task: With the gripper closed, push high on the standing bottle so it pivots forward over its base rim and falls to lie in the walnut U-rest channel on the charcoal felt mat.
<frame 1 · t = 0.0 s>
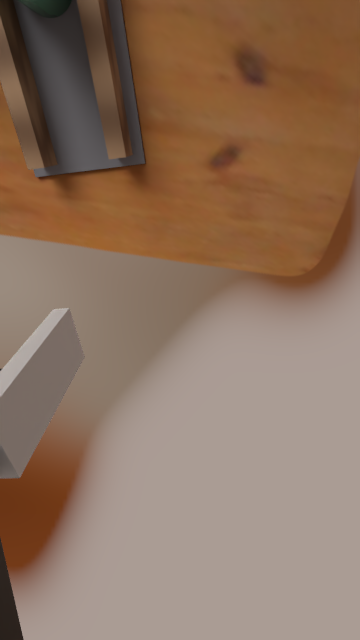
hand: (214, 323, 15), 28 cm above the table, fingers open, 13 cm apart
rest: (53, 44, 31), on the mat
mat: (62, 49, 33), on the table
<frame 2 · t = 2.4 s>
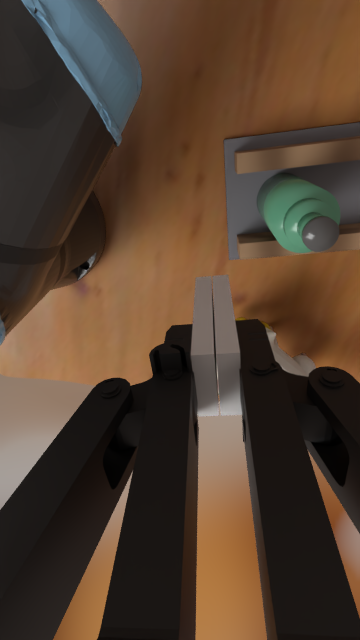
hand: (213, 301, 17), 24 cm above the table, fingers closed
rest: (333, 197, 34), on the mat
toy: (268, 339, 46), on the table
mat: (327, 193, 36), on the table
bottle: (281, 199, 37), resting on mat
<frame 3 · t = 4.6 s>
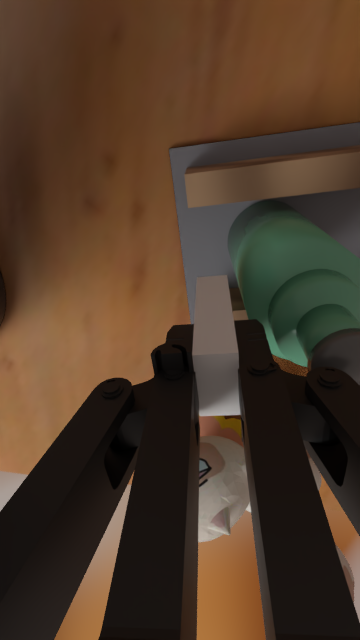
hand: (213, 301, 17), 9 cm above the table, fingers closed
rest: (349, 240, 21), on the mat
toy: (253, 423, 33), on the table
mat: (337, 230, 23), on the table
bottle: (265, 240, 23), resting on mat, touching gripper
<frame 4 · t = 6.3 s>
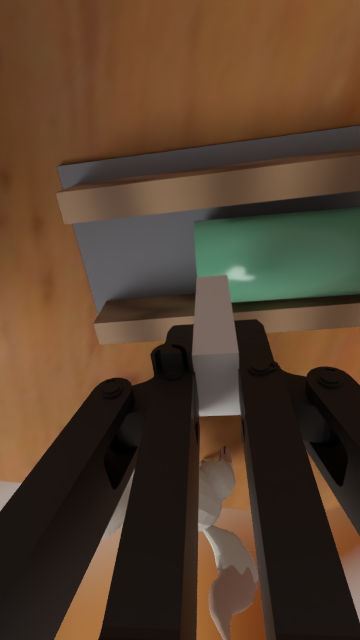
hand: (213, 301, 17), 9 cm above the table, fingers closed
rest: (231, 254, 22), on the mat
toy: (179, 428, 34), on the table
mat: (229, 244, 24), on the table
bottle: (197, 263, 22), point 3 cm above the table, tilted 90°, touching mat
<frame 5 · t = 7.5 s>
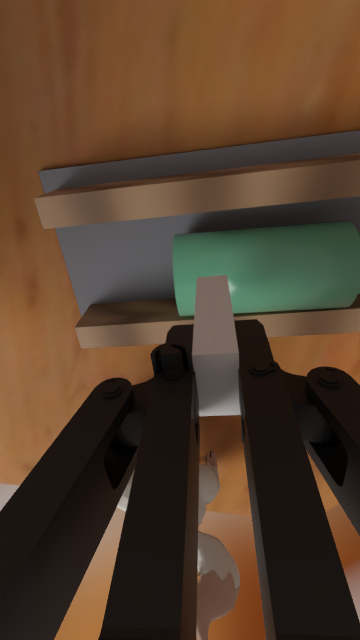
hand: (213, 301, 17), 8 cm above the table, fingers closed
rest: (211, 259, 22), on the mat
toy: (166, 431, 34), on the table
mat: (211, 249, 24), on the table
bottle: (178, 275, 22), point 3 cm above the table, tilted 90°, touching mat
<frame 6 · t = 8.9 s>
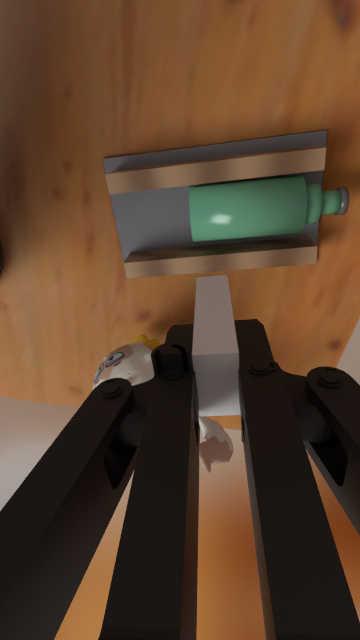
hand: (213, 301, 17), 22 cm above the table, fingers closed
rest: (214, 216, 34), on the mat
toy: (179, 355, 46), on the table
mat: (214, 212, 36), on the table
bottle: (191, 214, 33), point 3 cm above the table, tilted 90°, touching mat
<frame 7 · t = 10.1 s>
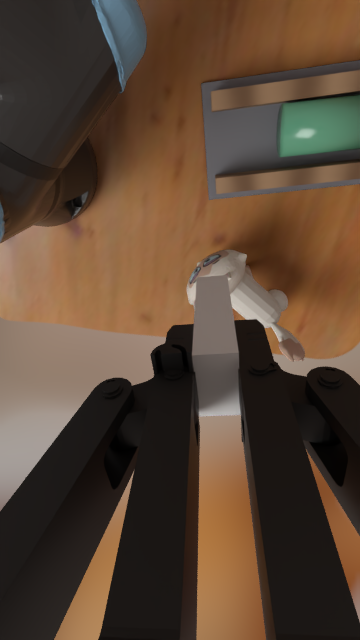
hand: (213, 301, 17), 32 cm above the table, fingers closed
rest: (298, 135, 39), on the mat
toy: (247, 280, 51), on the table
mat: (294, 134, 41), on the table
bottle: (280, 131, 38), point 3 cm above the table, tilted 90°, touching mat
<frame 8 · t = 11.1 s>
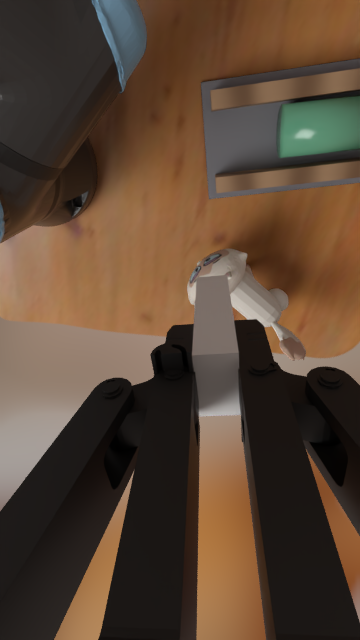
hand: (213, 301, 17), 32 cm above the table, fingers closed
rest: (298, 133, 39), on the mat
toy: (247, 279, 51), on the table
mat: (294, 133, 41), on the table
bottle: (280, 131, 38), point 3 cm above the table, tilted 90°, touching mat
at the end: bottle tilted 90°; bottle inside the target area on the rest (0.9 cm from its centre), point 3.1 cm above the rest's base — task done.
